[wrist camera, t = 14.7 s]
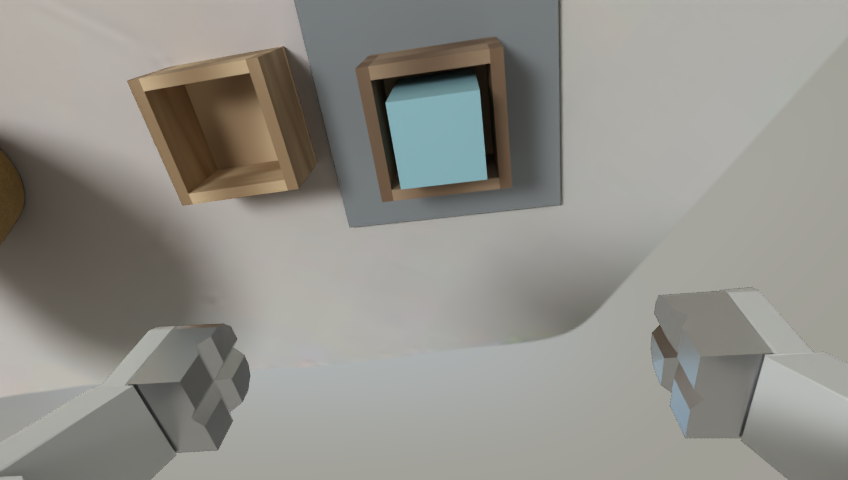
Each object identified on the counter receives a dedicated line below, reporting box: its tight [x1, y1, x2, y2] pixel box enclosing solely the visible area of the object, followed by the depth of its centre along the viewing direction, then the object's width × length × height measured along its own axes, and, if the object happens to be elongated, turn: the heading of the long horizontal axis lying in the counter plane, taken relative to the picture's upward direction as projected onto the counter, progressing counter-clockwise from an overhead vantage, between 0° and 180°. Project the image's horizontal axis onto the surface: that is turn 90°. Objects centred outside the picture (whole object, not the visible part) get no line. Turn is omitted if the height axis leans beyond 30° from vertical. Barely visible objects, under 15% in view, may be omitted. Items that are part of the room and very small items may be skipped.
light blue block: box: [385, 68, 487, 189], centre depth 23 cm, size 4×4×6 cm
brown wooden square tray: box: [355, 36, 512, 202], centre depth 24 cm, size 7×7×4 cm
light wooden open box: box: [127, 46, 317, 205], centre depth 26 cm, size 7×7×4 cm
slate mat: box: [294, 0, 560, 227], centre depth 27 cm, size 13×13×1 cm
